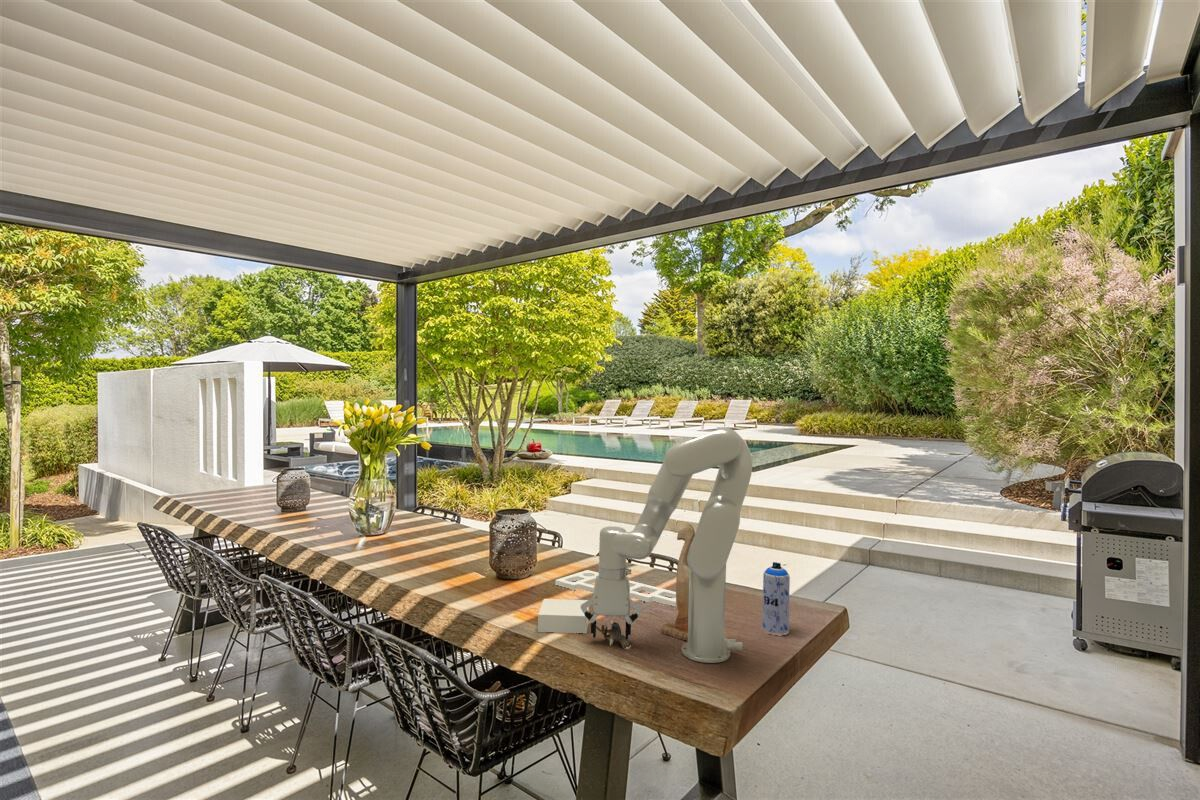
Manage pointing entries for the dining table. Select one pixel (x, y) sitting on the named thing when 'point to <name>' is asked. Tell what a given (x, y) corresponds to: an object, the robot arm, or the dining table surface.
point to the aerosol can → (776, 599)
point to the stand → (562, 616)
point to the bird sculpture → (681, 588)
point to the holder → (657, 593)
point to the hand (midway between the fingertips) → (610, 636)
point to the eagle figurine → (614, 634)
